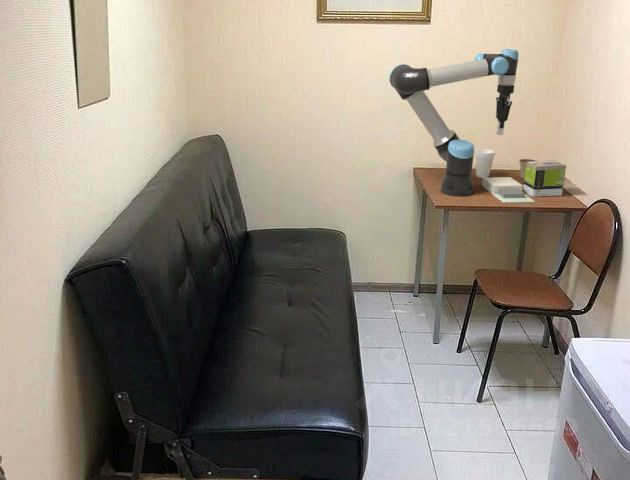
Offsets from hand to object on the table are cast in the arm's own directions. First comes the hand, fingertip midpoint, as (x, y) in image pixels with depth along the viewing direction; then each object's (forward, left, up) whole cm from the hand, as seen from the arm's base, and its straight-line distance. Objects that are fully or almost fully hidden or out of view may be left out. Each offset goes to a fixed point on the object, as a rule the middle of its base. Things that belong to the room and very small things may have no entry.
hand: (499, 134), depth 303 cm
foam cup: (0, +14, -25) cm, 28 cm away
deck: (0, -10, -24) cm, 26 cm away
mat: (0, -24, -24) cm, 34 cm away
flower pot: (+22, +10, -25) cm, 34 cm away
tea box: (+17, -17, -25) cm, 34 cm away
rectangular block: (0, -21, -24) cm, 32 cm away
